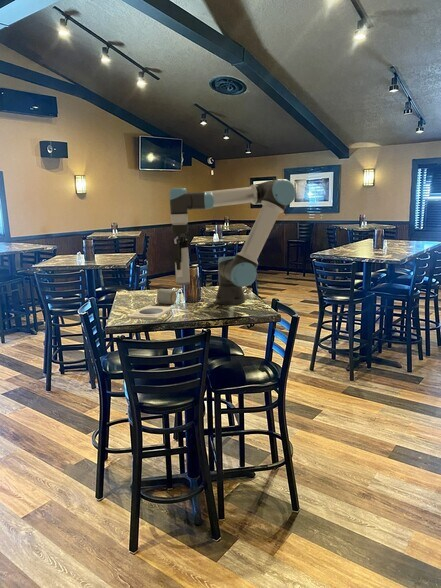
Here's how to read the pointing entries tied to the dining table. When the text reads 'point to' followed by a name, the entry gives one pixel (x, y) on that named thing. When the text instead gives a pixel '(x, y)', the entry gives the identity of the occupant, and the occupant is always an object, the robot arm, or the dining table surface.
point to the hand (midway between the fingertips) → (182, 275)
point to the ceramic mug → (166, 296)
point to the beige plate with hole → (150, 312)
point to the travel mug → (184, 265)
